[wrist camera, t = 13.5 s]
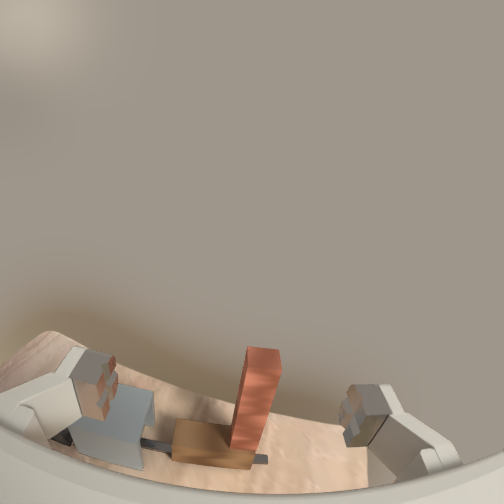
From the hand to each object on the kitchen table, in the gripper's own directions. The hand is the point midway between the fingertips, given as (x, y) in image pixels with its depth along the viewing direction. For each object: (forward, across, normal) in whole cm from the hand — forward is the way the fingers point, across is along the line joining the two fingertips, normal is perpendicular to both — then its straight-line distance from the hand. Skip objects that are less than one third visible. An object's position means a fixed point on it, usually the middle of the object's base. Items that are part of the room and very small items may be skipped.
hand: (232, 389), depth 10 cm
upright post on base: (+16, -1, +29) cm, 33 cm away
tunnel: (+16, +12, +30) cm, 36 cm away
